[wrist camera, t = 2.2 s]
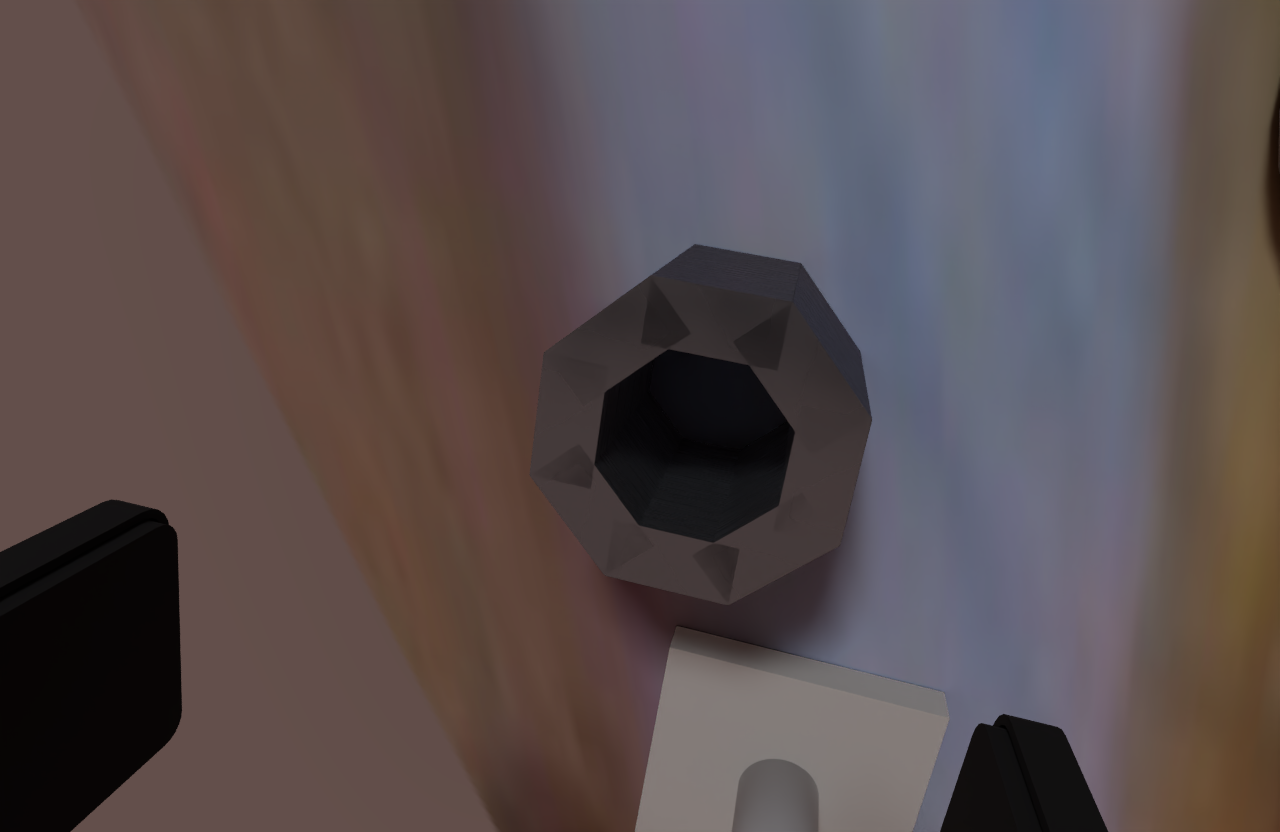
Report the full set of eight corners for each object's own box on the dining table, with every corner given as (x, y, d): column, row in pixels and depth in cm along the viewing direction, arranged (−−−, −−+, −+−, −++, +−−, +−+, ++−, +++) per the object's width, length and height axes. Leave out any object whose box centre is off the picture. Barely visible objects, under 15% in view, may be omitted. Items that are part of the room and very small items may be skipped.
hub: (878, 277, 22) (897, 321, 16) (820, 515, 24) (819, 627, 18) (622, 231, 23) (554, 257, 17) (589, 464, 25) (520, 555, 19)
